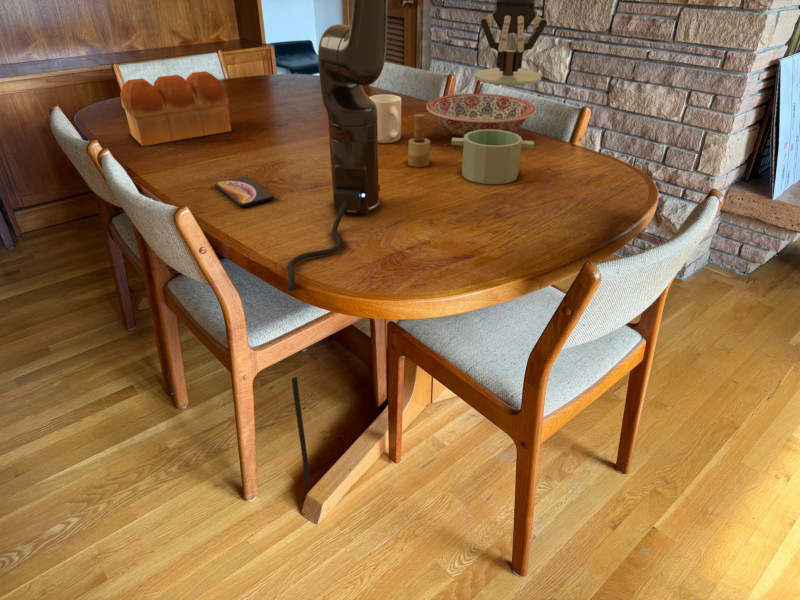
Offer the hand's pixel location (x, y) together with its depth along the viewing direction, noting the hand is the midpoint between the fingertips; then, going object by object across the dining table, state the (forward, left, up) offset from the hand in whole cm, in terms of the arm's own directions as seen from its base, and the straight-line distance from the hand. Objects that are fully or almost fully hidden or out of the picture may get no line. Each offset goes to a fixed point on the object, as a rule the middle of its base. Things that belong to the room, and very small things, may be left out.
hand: (508, 70), depth 119 cm
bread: (+21, +87, -23) cm, 92 cm away
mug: (+22, +29, -23) cm, 43 cm away
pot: (0, +2, -23) cm, 23 cm away
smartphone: (-19, +54, -23) cm, 61 cm away
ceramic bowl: (+30, +5, -23) cm, 38 cm away
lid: (0, 0, -1) cm, 1 cm away
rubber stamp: (+5, +19, -23) cm, 30 cm away
